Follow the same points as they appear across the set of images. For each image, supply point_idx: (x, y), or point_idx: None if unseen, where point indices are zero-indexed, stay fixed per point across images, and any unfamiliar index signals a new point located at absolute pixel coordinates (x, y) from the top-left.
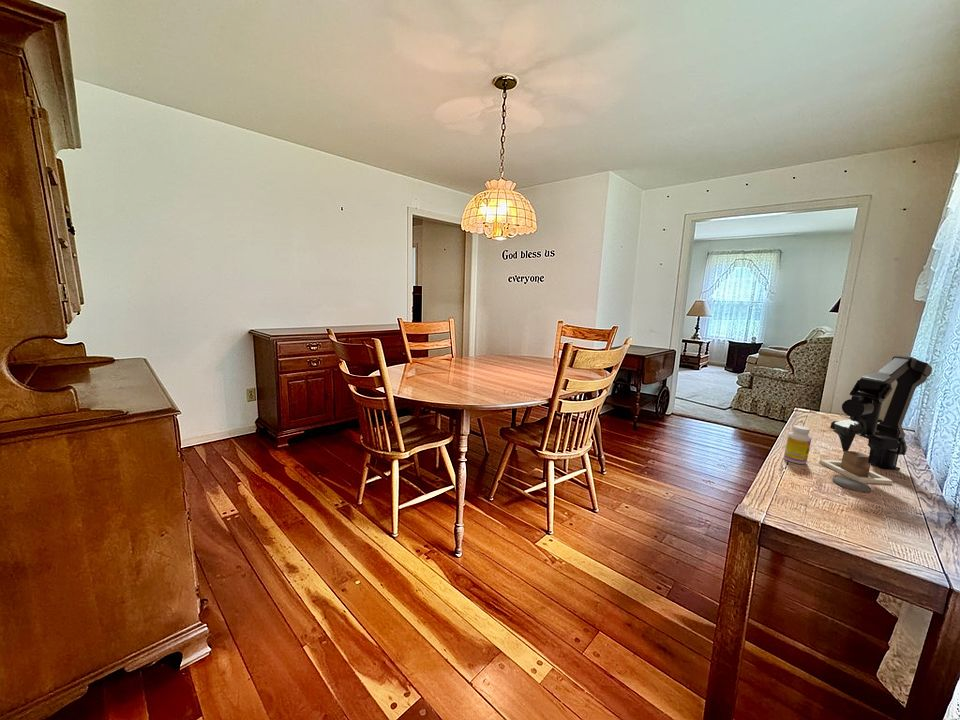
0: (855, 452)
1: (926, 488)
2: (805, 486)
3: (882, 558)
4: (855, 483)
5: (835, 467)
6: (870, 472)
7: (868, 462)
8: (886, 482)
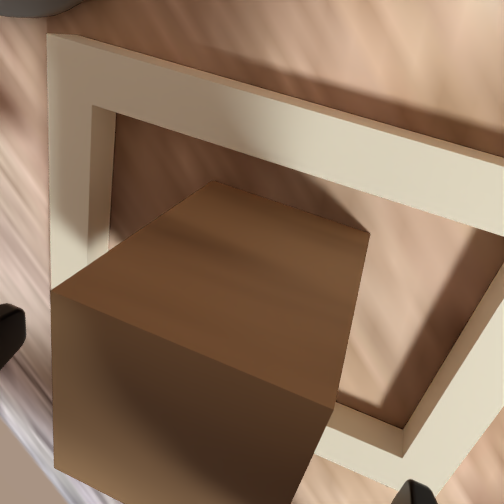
0: (229, 493)
1: (46, 445)
2: None
3: None
4: None
5: (352, 123)
6: None
7: (13, 309)
8: None
